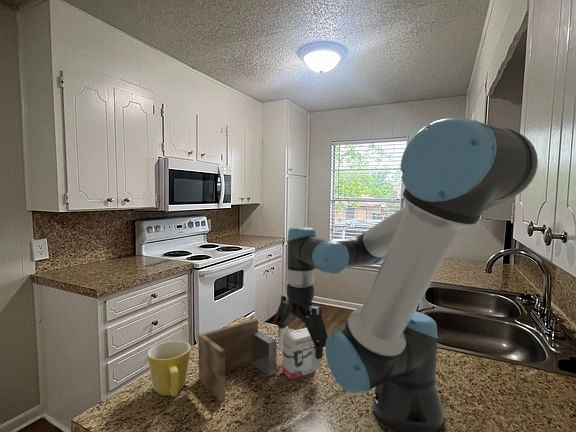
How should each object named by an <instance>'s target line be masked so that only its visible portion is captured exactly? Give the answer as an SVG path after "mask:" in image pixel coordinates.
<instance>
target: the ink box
mask: <svg viewBox="0 0 576 432" xmlns="http://www.w3.org/2000/svg"><path fill="white" fill-rule="evenodd" d="M313 345H314V343H313V341H312V338H311V336H310V334H309V332H308V329H307V327H304V328H299V329H295V330H292V331H288V333H285V334H283V350H282V373H283V374H284V375H286V377H288V378H289V380H290V379H291V380H295V379H298V378H299V377H304V376H305V375H309V374H311V373H314V372H313V371H312V370H311V369H312V346H313Z"/></svg>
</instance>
